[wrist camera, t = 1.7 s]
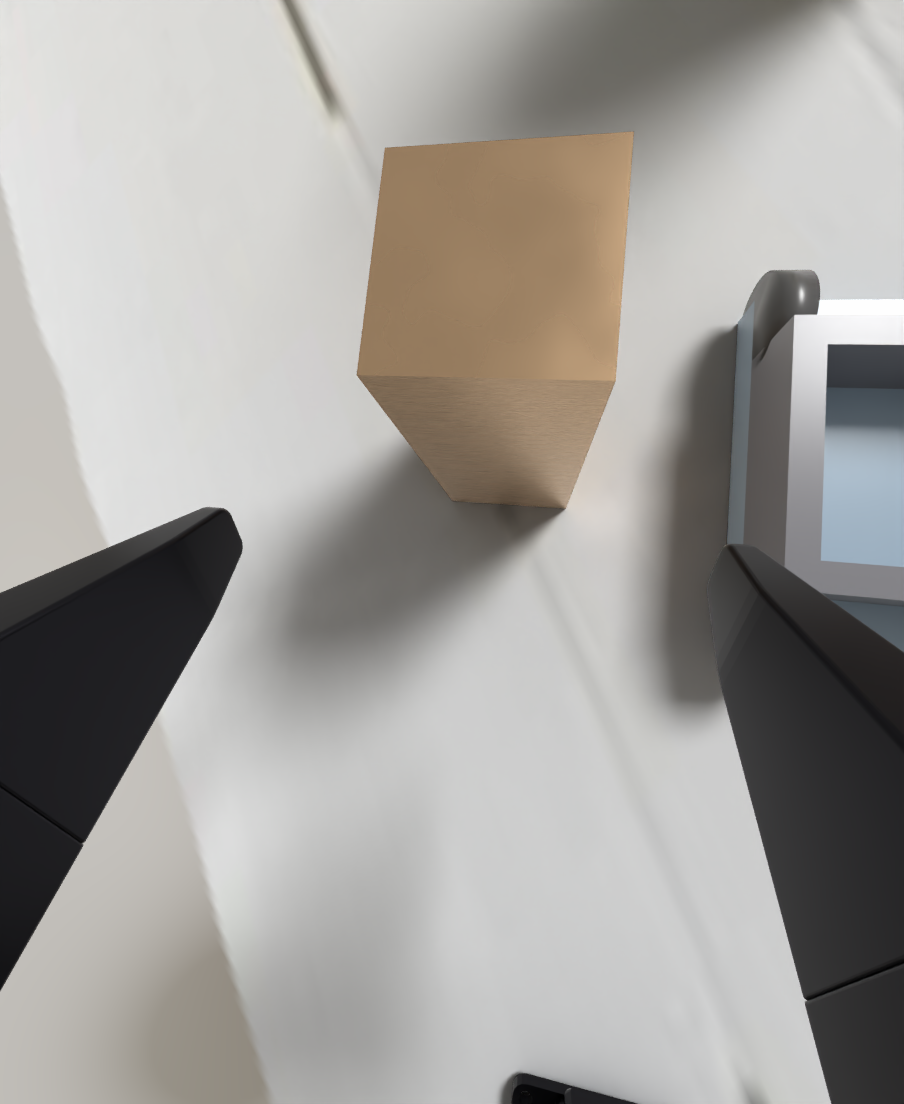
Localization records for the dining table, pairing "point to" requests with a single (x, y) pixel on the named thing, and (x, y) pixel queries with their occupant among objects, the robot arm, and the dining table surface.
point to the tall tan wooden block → (498, 308)
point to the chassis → (823, 443)
